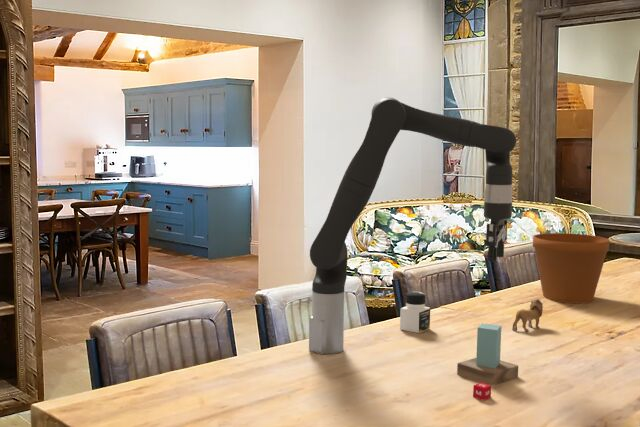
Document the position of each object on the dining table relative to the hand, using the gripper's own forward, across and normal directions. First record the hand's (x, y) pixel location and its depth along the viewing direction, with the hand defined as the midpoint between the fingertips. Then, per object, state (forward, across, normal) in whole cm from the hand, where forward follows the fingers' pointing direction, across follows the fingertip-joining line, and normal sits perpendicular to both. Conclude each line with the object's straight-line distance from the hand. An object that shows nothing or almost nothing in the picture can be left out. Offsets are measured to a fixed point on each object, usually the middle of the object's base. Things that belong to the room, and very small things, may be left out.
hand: (495, 258), depth 203 cm
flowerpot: (+28, +93, -7) cm, 97 cm away
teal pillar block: (+25, -16, -3) cm, 30 cm away
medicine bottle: (+28, +18, +29) cm, 44 cm away
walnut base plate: (+28, -16, -3) cm, 33 cm away
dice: (+28, -33, -6) cm, 44 cm away
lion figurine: (+28, +38, -2) cm, 47 cm away
